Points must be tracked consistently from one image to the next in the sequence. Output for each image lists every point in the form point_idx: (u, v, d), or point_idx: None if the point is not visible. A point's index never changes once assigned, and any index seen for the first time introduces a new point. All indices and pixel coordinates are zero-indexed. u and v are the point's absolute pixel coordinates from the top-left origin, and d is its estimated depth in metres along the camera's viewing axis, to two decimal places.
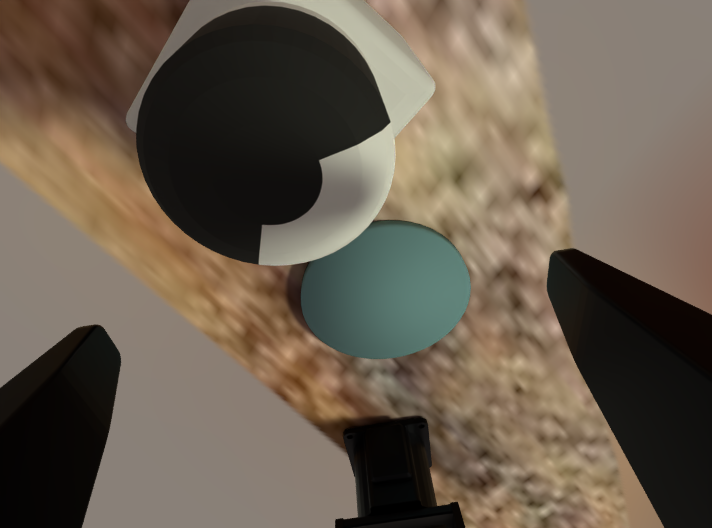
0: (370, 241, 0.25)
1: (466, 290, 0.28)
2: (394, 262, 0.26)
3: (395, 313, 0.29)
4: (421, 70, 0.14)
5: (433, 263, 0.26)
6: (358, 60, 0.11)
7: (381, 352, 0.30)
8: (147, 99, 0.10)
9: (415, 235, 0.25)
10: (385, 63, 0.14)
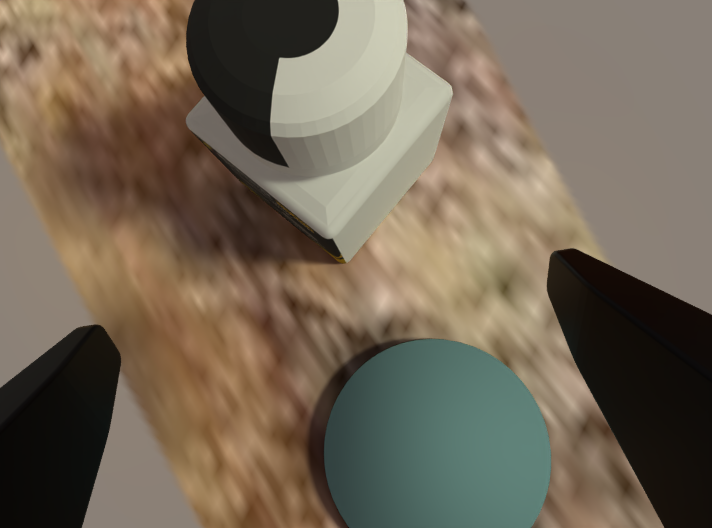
0: (410, 357, 0.22)
1: (544, 442, 0.21)
2: (442, 389, 0.21)
3: (450, 478, 0.21)
4: (438, 76, 0.17)
5: (491, 393, 0.21)
6: None
7: None
8: None
9: (464, 350, 0.22)
10: (405, 65, 0.17)
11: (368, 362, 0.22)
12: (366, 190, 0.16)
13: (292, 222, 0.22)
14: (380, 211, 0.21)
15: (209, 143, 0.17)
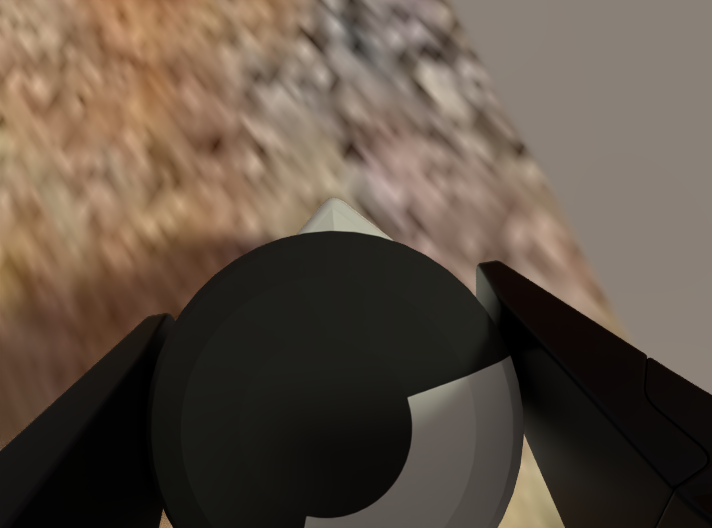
0: None
1: None
2: None
3: None
4: None
5: None
6: None
7: None
8: (183, 314, 0.08)
9: None
10: None
11: None
12: None
13: None
14: None
15: None
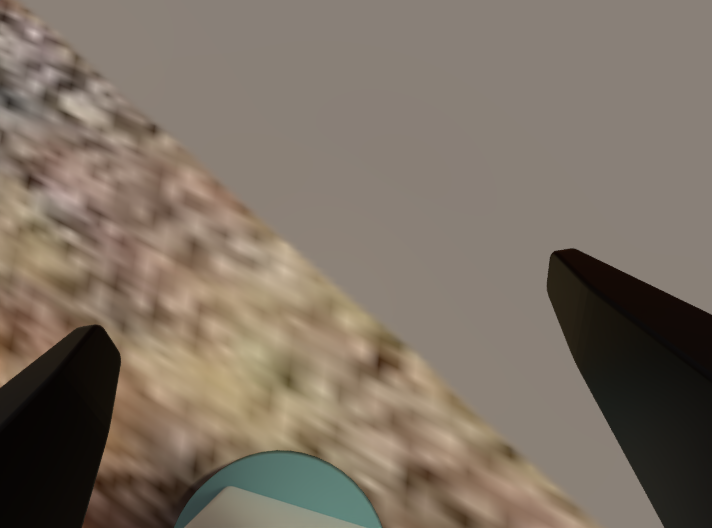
0: (218, 490, 0.21)
1: (369, 518, 0.21)
2: None
3: None
4: None
5: (305, 492, 0.21)
6: None
7: None
8: None
9: (265, 462, 0.21)
10: None
11: (182, 513, 0.21)
12: None
13: None
14: None
15: None
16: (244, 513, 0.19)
